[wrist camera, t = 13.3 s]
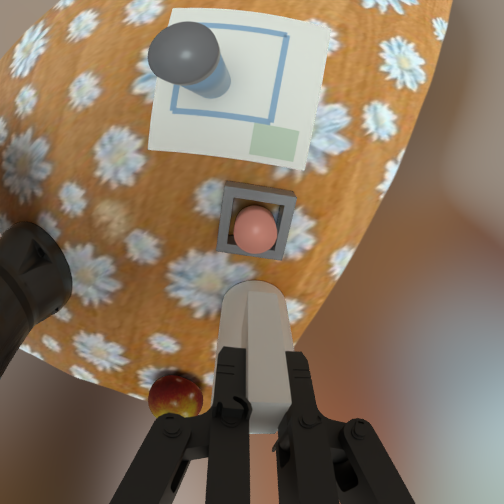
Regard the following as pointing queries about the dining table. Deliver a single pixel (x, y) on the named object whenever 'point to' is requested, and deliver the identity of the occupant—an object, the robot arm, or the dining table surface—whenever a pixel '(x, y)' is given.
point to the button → (255, 229)
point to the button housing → (263, 195)
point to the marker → (190, 59)
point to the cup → (235, 313)
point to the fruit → (175, 397)
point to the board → (248, 91)
